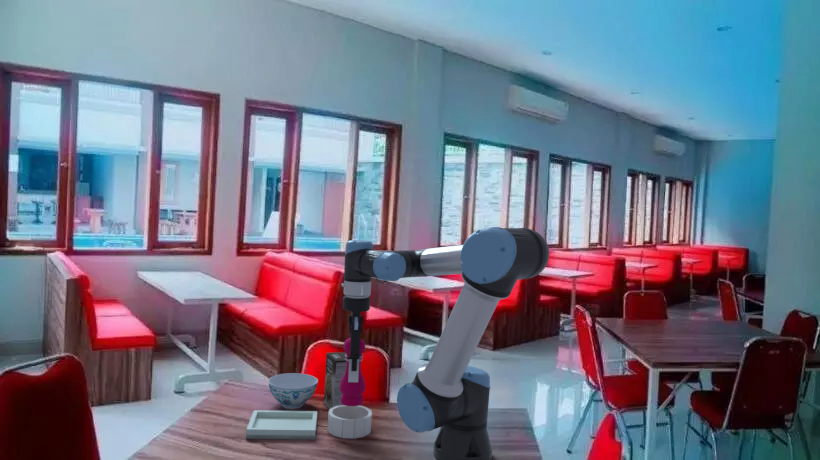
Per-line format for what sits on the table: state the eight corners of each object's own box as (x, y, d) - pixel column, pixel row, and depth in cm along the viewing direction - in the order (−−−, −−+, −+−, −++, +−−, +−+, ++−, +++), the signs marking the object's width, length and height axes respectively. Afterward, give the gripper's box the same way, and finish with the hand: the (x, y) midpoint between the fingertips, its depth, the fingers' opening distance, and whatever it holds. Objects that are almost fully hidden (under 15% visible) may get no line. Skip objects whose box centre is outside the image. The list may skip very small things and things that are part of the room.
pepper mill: (360, 408, 164) (364, 335, 163) (335, 405, 166) (338, 333, 165) (367, 400, 171) (371, 330, 170) (343, 397, 173) (346, 328, 172)
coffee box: (323, 403, 189) (325, 352, 188) (342, 401, 192) (345, 351, 191) (331, 413, 181) (334, 360, 180) (352, 411, 184) (354, 359, 183)
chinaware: (297, 393, 197) (298, 370, 196) (326, 406, 186) (327, 382, 186) (257, 403, 186) (258, 378, 185) (286, 417, 175) (287, 391, 175)
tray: (316, 419, 175) (317, 411, 175) (314, 439, 161) (315, 430, 161) (253, 418, 173) (253, 410, 173) (245, 438, 159) (246, 429, 159)
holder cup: (378, 428, 172) (379, 410, 172) (355, 441, 161) (356, 423, 161) (344, 418, 177) (344, 401, 177) (319, 431, 167) (320, 413, 167)
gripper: (343, 290, 176) (339, 368, 177) (343, 301, 157) (339, 388, 159) (368, 291, 177) (365, 369, 178) (372, 302, 158) (367, 389, 159)
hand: (352, 378), depth 168 cm, fingers closed on pepper mill, 6 cm apart
